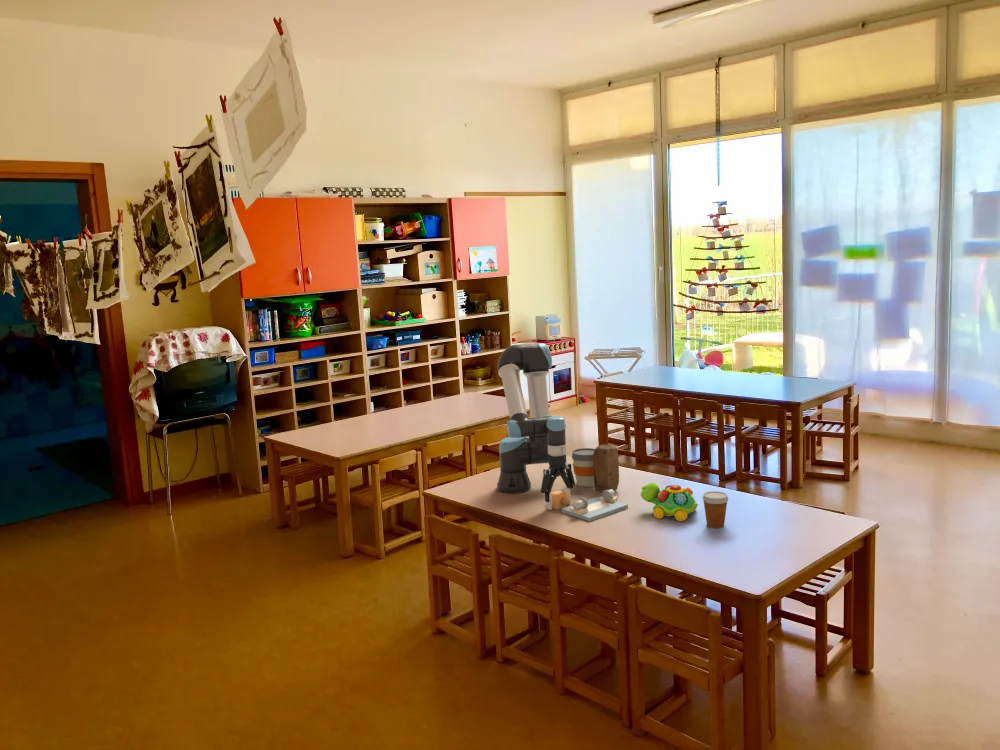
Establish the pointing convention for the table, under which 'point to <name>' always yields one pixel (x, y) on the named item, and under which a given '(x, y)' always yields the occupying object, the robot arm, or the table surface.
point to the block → (606, 467)
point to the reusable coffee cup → (583, 466)
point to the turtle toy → (670, 501)
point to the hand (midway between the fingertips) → (558, 505)
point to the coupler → (559, 499)
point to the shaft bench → (595, 506)
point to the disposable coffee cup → (715, 508)
